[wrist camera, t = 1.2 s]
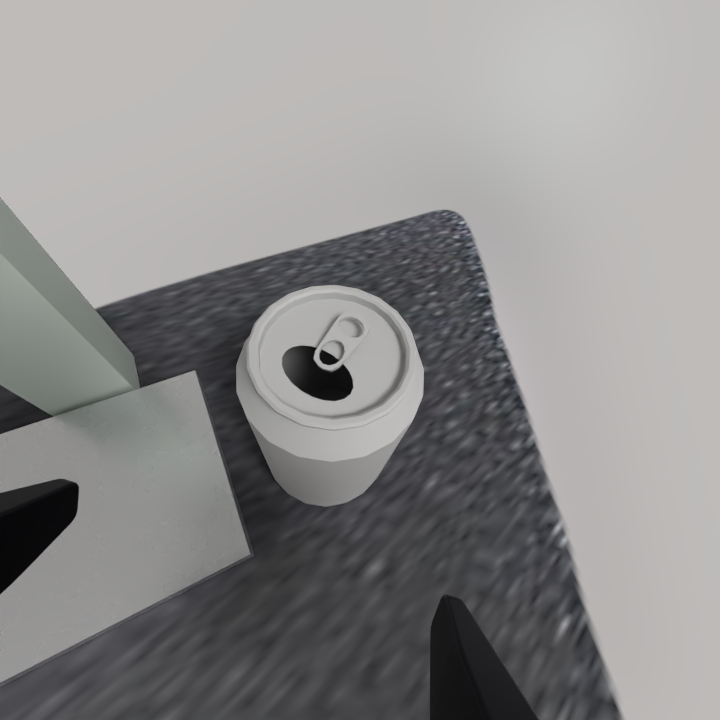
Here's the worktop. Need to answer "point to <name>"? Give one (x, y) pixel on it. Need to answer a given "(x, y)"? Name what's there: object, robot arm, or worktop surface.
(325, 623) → the worktop surface
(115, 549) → the plate
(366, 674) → the worktop surface
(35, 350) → the press frame
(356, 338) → the can
